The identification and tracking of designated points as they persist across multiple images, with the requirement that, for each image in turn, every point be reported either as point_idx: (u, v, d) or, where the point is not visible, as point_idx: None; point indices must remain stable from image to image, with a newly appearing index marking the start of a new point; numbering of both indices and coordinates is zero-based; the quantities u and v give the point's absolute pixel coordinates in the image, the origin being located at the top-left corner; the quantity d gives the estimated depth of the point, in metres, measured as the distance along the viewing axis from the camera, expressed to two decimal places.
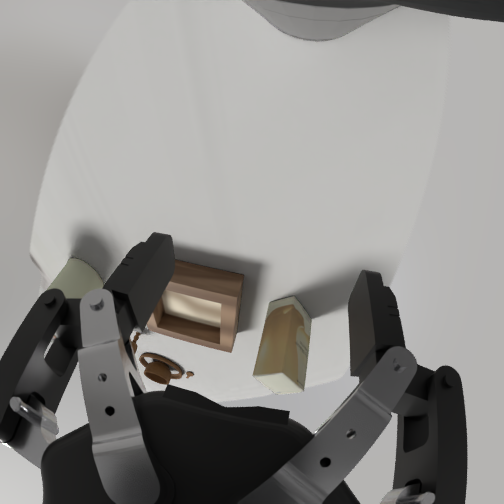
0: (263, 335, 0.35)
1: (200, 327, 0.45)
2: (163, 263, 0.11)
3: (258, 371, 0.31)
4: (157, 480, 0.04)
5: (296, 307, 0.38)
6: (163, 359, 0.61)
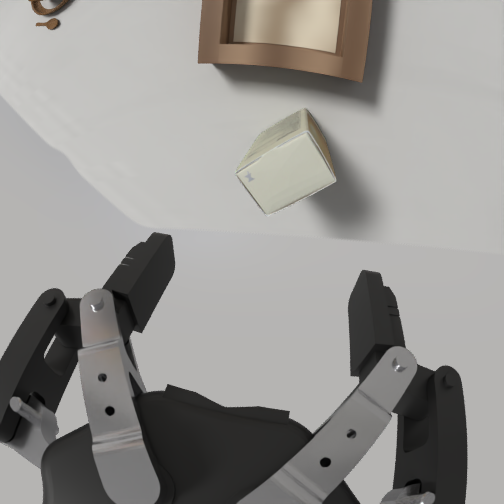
0: (308, 118, 0.21)
1: (229, 11, 0.19)
2: (163, 263, 0.11)
3: (314, 138, 0.17)
4: (157, 480, 0.04)
5: None
6: None
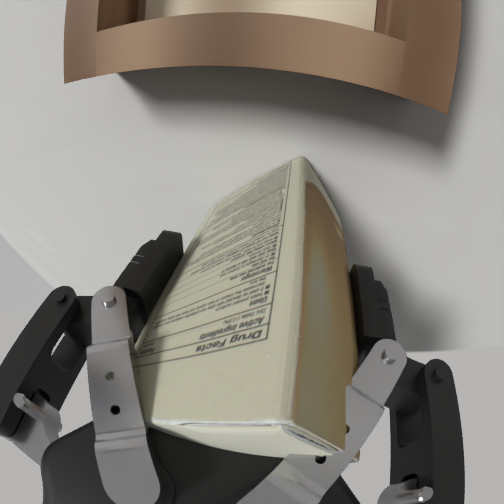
0: (308, 221, 0.08)
1: None
2: (173, 261, 0.11)
3: (315, 408, 0.04)
4: (157, 480, 0.04)
5: None
6: None
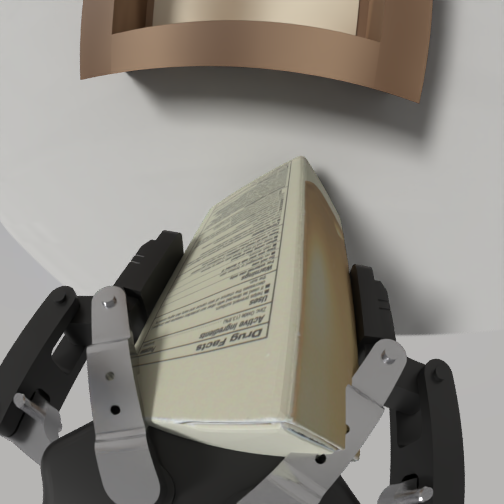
0: (308, 220, 0.08)
1: None
2: (173, 261, 0.11)
3: (315, 406, 0.04)
4: (157, 480, 0.04)
5: None
6: None
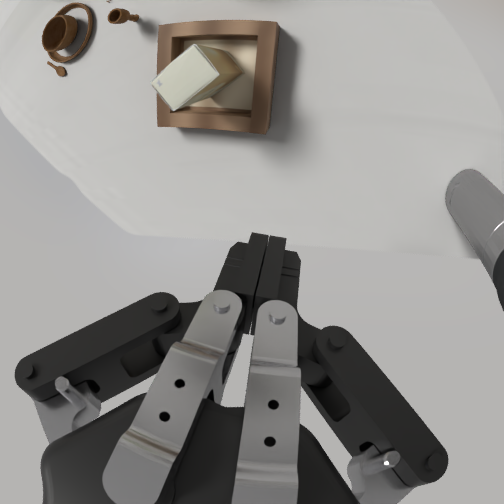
0: (215, 49, 0.24)
1: None
2: (263, 263, 0.11)
3: (202, 49, 0.20)
4: (157, 480, 0.04)
5: (236, 78, 0.30)
6: (86, 42, 0.29)
